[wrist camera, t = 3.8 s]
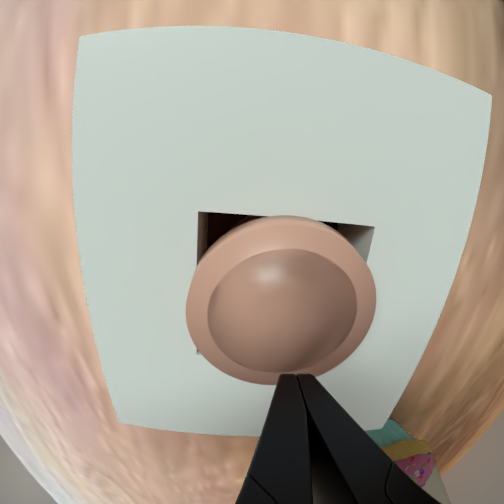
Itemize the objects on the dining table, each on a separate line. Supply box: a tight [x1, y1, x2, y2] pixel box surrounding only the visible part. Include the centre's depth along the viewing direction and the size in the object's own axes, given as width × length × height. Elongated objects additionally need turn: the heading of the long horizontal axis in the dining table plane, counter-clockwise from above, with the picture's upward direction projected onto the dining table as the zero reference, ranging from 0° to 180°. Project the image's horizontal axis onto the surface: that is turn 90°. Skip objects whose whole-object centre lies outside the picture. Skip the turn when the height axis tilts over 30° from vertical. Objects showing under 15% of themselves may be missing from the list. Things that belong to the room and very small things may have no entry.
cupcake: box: [365, 419, 436, 488], centre depth 17 cm, size 9×8×12 cm
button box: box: [72, 26, 492, 437], centre depth 13 cm, size 15×18×4 cm
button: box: [185, 215, 376, 385], centre depth 12 cm, size 6×6×4 cm
